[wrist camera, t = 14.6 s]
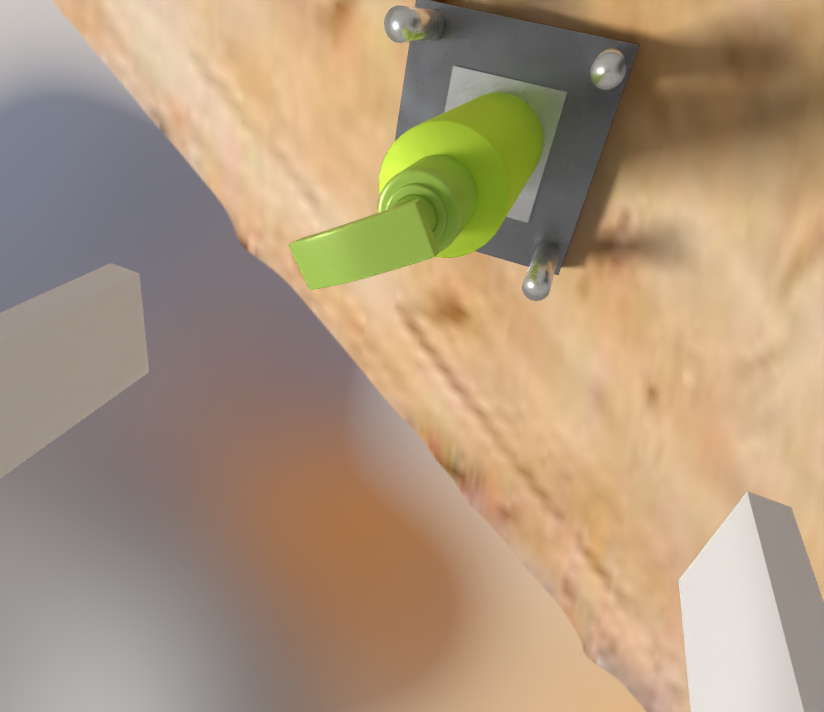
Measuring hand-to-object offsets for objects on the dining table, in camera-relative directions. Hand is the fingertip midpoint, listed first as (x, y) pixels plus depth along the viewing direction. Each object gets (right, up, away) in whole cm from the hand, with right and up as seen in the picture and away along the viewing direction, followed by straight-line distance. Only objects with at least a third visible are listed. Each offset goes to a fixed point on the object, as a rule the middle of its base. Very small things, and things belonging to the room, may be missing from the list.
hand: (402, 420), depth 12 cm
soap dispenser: (+5, +15, +23) cm, 28 cm away
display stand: (+6, +15, +25) cm, 30 cm away
